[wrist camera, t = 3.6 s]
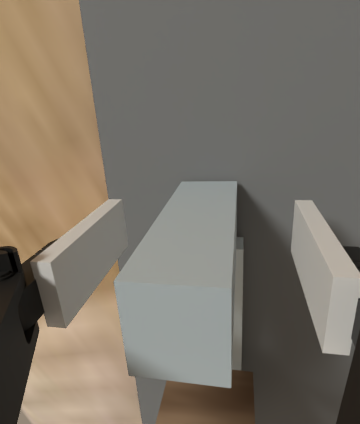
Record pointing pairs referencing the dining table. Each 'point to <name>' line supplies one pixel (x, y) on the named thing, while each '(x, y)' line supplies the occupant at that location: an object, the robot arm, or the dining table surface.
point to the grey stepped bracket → (186, 290)
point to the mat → (239, 156)
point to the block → (209, 402)
